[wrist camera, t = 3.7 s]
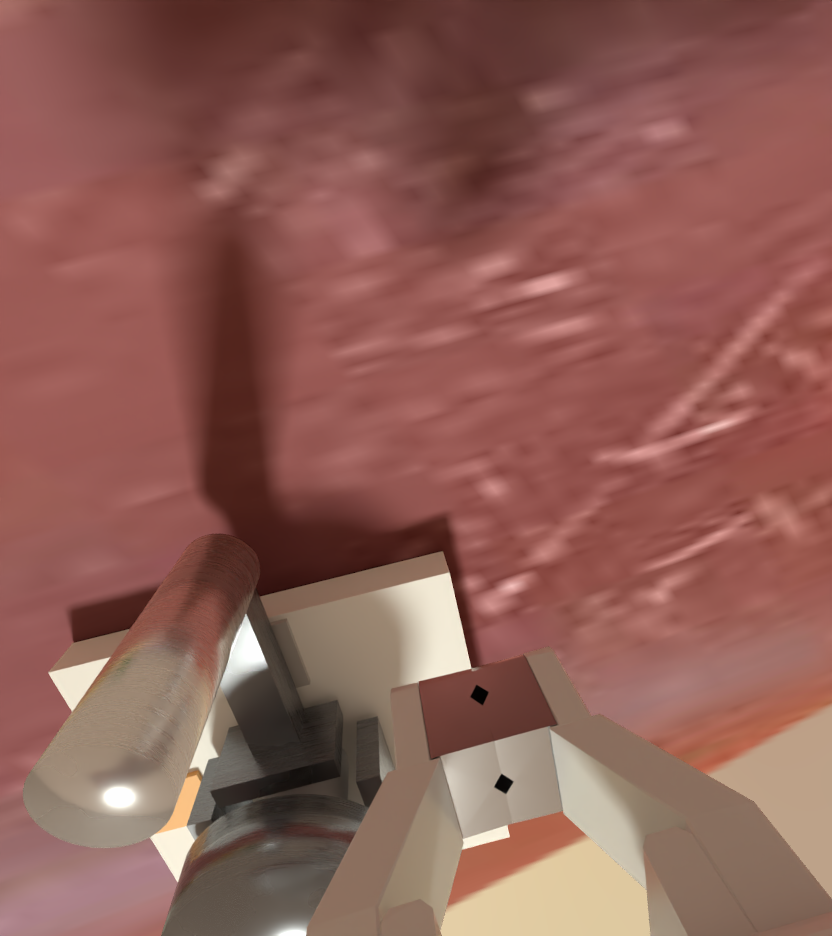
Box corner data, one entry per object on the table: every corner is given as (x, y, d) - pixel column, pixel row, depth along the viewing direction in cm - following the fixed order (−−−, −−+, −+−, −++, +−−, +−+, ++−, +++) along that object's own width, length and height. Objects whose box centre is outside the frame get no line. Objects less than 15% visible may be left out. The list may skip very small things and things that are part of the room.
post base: (442, 550, 18) (470, 639, 14) (500, 803, 23) (536, 933, 18) (72, 643, 18) (-31, 766, 13) (210, 880, 23) (171, 1031, 18)
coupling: (318, 506, 15) (280, 694, 8) (417, 813, 20) (448, 1100, 13) (95, 560, 15) (-149, 803, 8) (250, 857, 20) (187, 1172, 13)
